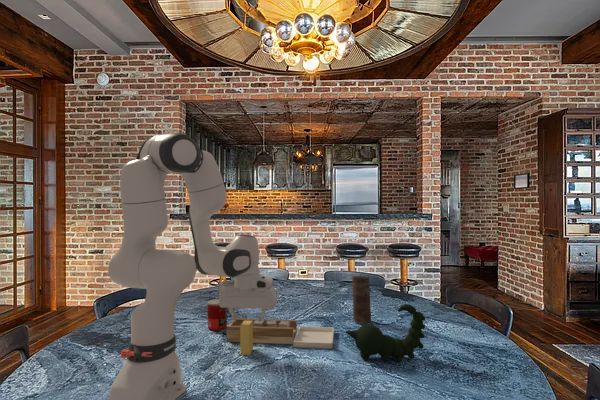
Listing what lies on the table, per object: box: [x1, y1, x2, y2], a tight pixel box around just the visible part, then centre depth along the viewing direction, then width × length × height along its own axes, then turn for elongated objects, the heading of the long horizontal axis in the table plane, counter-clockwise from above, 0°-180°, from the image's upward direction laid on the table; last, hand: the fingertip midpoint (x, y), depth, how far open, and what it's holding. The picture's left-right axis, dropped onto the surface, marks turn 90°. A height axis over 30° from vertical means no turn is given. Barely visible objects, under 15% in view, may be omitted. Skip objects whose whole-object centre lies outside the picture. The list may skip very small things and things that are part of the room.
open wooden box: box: [226, 317, 298, 345], centre depth 135 cm, size 10×25×6 cm, turn 83°
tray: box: [292, 325, 335, 350], centre depth 132 cm, size 16×14×2 cm
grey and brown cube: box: [278, 321, 290, 327], centre depth 134 cm, size 4×4×4 cm
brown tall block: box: [351, 275, 372, 326], centre depth 151 cm, size 8×7×20 cm
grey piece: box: [267, 321, 276, 327], centre depth 134 cm, size 4×4×4 cm
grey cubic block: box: [253, 320, 264, 327], centre depth 135 cm, size 4×4×4 cm
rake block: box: [239, 320, 254, 356], centre depth 122 cm, size 5×3×10 cm, turn 173°
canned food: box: [206, 298, 228, 332], centre depth 146 cm, size 8×8×11 cm
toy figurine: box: [345, 304, 426, 364], centre depth 115 cm, size 9×19×25 cm
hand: (248, 320), depth 123 cm, fingers open, 8 cm apart
